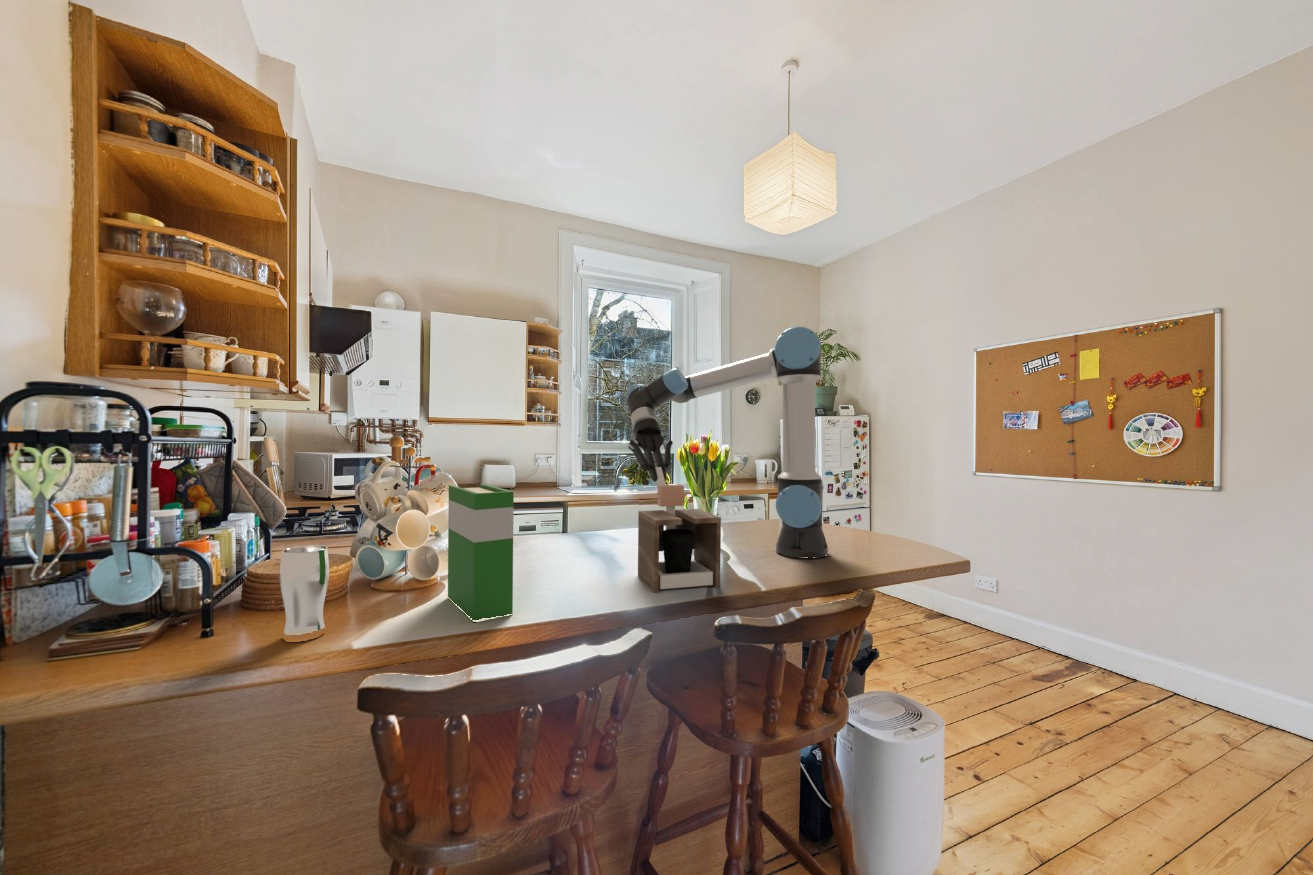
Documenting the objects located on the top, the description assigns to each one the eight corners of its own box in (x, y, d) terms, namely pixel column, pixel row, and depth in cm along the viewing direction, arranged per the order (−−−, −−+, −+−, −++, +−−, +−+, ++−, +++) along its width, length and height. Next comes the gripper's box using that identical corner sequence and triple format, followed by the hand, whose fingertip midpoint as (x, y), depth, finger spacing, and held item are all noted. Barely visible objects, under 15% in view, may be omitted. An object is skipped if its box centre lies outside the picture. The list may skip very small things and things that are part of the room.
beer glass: (276, 635, 88) (276, 548, 88) (323, 625, 93) (324, 542, 92) (283, 647, 83) (284, 555, 83) (332, 636, 88) (333, 549, 88)
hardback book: (447, 598, 108) (448, 485, 108) (482, 592, 113) (483, 483, 113) (473, 623, 94) (474, 493, 94) (512, 615, 99) (513, 491, 99)
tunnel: (697, 571, 132) (698, 508, 132) (720, 587, 118) (720, 517, 118) (637, 575, 127) (638, 510, 127) (654, 592, 114) (654, 520, 113)
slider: (691, 569, 131) (692, 484, 131) (712, 584, 118) (713, 490, 118) (643, 573, 128) (644, 485, 127) (660, 589, 115) (661, 491, 114)
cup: (694, 586, 119) (694, 535, 119) (661, 585, 119) (662, 534, 119) (692, 577, 126) (693, 528, 126) (661, 576, 126) (662, 528, 126)
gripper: (664, 435, 154) (682, 497, 138) (622, 434, 150) (635, 498, 134) (669, 417, 149) (689, 479, 133) (626, 416, 145) (641, 480, 129)
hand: (662, 489), depth 134 cm, fingers closed
